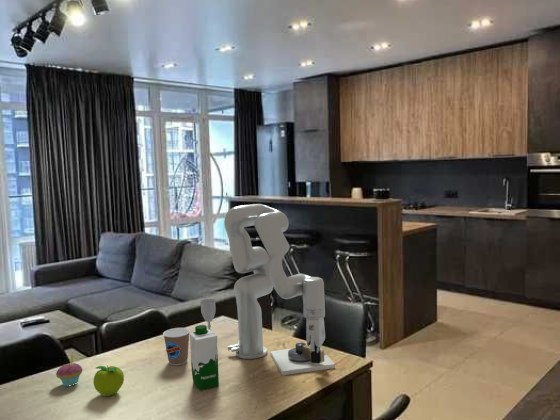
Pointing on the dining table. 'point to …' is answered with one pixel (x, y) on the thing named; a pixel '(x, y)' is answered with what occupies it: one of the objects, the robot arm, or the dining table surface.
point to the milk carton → (204, 358)
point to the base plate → (298, 363)
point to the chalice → (208, 310)
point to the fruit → (108, 380)
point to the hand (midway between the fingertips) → (316, 362)
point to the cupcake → (69, 373)
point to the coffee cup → (177, 345)
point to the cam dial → (302, 353)
